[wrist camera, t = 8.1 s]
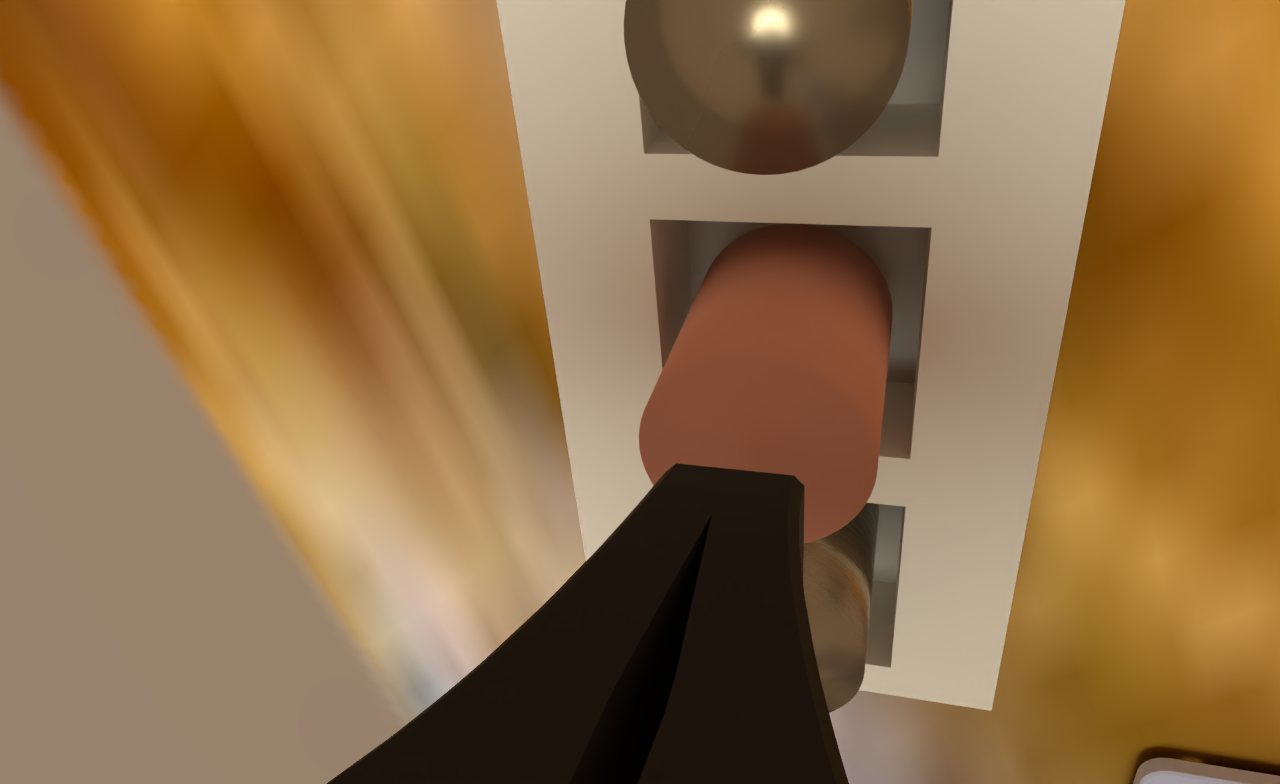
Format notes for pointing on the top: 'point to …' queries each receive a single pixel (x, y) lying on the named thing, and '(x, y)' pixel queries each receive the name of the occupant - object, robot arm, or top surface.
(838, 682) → the bronze plunger
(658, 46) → the bronze plunger
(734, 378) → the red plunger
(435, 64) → the top surface
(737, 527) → the robot arm
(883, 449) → the white slotted tray
